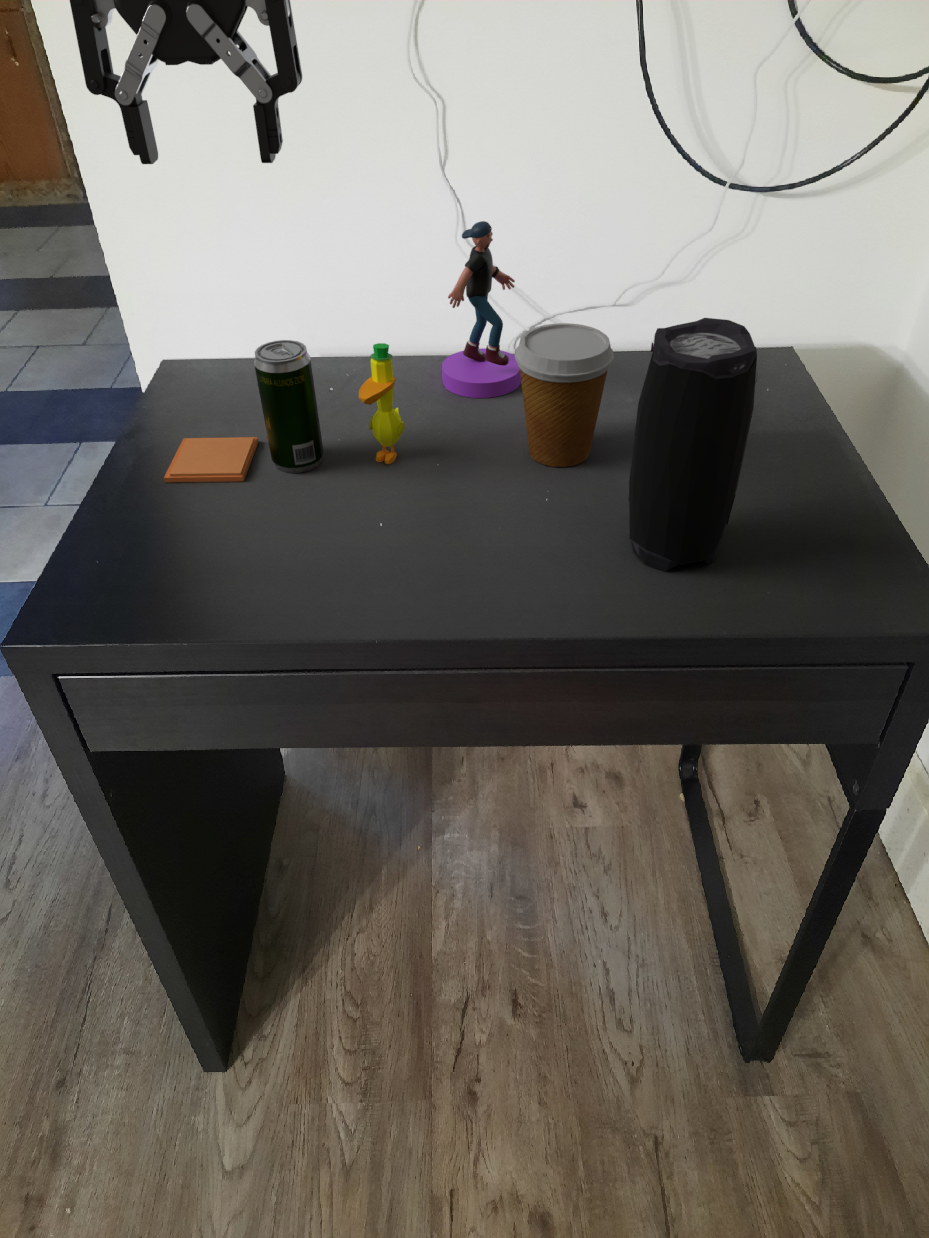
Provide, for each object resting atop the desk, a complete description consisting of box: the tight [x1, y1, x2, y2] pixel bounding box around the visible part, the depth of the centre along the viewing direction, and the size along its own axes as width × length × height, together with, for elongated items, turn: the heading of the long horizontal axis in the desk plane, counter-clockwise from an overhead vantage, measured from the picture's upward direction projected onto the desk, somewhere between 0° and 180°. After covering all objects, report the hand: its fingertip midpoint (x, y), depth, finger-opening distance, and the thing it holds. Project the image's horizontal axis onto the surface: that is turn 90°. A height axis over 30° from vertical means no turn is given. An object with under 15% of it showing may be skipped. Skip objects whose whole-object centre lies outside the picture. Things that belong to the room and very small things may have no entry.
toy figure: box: [358, 342, 406, 465], centre depth 89 cm, size 7×4×12 cm, turn 156°
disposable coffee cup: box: [514, 322, 615, 468], centre depth 90 cm, size 10×10×12 cm
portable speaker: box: [627, 317, 758, 572], centre depth 74 cm, size 9×9×20 cm
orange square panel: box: [163, 436, 259, 483], centre depth 93 cm, size 8×8×1 cm
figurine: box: [441, 220, 521, 399], centre depth 101 cm, size 9×9×18 cm
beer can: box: [253, 339, 325, 474], centre depth 90 cm, size 5×5×12 cm
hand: (210, 161), depth 65 cm, fingers open, 8 cm apart
